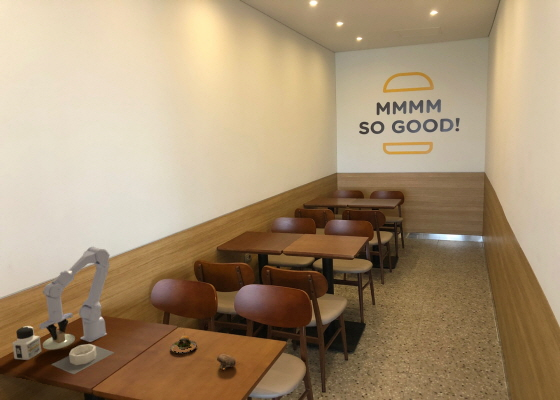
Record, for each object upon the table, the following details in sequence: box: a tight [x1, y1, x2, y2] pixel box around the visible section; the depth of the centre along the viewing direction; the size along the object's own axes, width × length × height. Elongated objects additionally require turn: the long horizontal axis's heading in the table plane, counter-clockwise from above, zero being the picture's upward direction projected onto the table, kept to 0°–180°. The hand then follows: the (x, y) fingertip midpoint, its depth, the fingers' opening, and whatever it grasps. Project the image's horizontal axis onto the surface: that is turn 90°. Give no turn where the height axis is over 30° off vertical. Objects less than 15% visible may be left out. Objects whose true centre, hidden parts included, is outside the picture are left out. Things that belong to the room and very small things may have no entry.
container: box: [12, 325, 42, 361], centre depth 193 cm, size 8×8×13 cm
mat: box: [51, 344, 115, 375], centre depth 189 cm, size 20×16×1 cm
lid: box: [42, 329, 76, 351], centre depth 196 cm, size 13×13×5 cm
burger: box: [169, 331, 198, 354], centre depth 195 cm, size 12×12×8 cm
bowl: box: [68, 343, 97, 365], centre depth 189 cm, size 10×10×4 cm
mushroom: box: [216, 353, 237, 370], centre depth 179 cm, size 8×8×6 cm
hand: (58, 337), depth 196 cm, fingers closed on lid, 3 cm apart
